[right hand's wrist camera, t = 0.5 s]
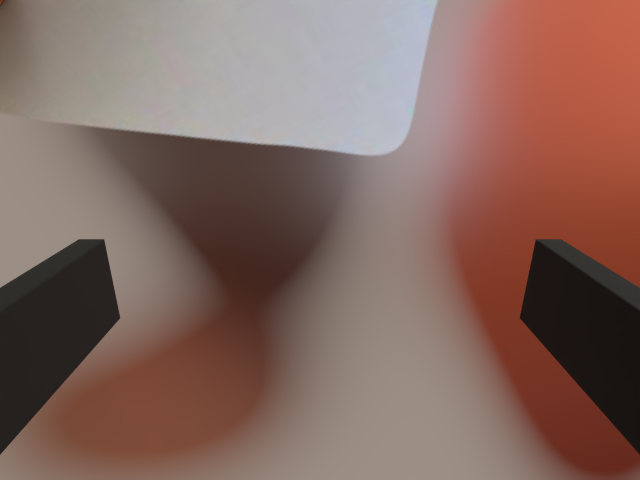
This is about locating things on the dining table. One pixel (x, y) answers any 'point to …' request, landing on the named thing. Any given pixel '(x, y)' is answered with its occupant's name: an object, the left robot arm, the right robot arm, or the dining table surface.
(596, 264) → the right robot arm
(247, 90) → the dining table surface
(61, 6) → the dining table surface
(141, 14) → the dining table surface
